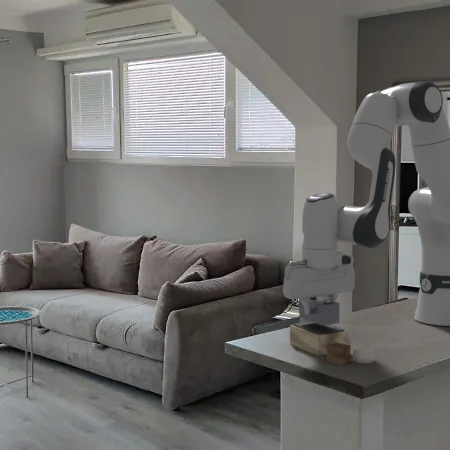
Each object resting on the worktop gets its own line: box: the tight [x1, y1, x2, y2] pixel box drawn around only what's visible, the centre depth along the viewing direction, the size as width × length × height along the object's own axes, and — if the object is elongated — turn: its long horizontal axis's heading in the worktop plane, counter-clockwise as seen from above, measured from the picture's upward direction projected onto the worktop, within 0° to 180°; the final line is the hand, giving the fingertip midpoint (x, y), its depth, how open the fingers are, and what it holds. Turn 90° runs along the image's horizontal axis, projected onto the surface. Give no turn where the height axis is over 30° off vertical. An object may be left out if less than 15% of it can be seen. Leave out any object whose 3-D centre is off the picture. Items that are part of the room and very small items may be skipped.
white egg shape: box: [352, 347, 376, 365], centre depth 166 cm, size 5×5×2 cm
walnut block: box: [326, 343, 352, 366], centre depth 165 cm, size 4×4×4 cm
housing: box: [298, 296, 340, 325], centre depth 176 cm, size 10×5×6 cm, turn 29°
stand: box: [289, 321, 348, 357], centre depth 176 cm, size 9×12×5 cm
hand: (319, 312), depth 176 cm, fingers closed on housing, 5 cm apart
